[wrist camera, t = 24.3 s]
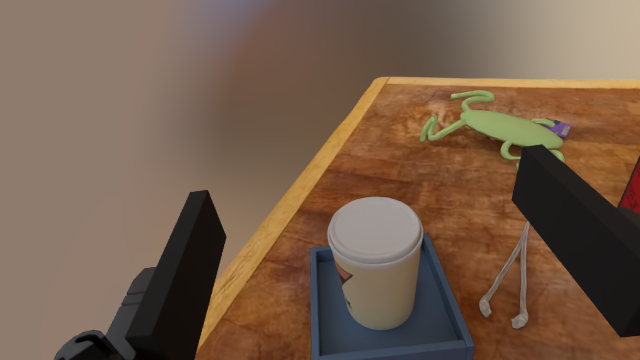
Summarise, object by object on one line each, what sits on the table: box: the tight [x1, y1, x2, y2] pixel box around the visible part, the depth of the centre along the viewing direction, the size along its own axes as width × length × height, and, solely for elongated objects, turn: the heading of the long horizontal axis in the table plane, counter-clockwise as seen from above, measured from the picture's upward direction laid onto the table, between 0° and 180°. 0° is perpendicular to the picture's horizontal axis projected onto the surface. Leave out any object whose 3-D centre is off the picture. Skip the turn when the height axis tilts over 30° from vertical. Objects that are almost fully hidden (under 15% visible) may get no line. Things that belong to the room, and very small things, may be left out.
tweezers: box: [479, 220, 530, 329], centre depth 43 cm, size 17×5×2 cm, turn 146°
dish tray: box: [310, 233, 475, 360], centre depth 41 cm, size 16×16×3 cm
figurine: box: [420, 90, 572, 170], centre depth 66 cm, size 18×27×6 cm
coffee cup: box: [328, 197, 423, 330], centre depth 38 cm, size 9×9×12 cm
